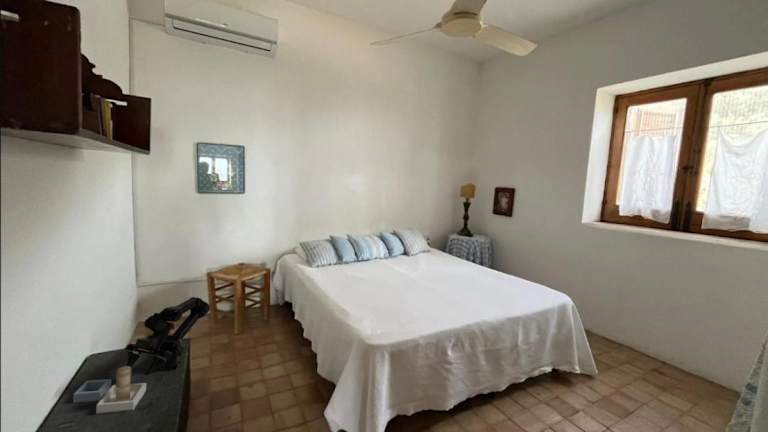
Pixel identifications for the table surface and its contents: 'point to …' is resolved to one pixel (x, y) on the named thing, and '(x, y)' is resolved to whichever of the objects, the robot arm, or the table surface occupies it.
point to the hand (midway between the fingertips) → (136, 373)
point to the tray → (111, 405)
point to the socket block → (86, 395)
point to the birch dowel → (123, 384)
